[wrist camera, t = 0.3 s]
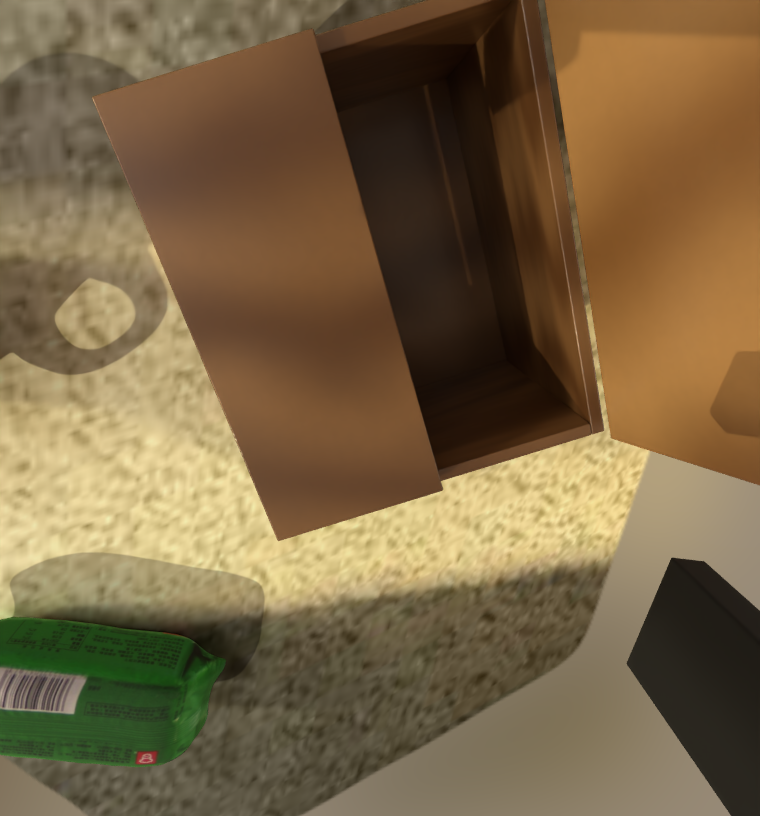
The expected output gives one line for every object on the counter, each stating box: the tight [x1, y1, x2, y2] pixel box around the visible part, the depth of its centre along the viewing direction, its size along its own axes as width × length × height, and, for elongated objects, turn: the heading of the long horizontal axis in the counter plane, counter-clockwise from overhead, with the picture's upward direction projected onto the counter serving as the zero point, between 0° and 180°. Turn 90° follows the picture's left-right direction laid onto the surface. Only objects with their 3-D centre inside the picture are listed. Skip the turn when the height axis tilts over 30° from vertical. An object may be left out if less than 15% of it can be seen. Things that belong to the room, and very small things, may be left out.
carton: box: [92, 0, 604, 541], centre depth 23 cm, size 15×13×11 cm
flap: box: [545, 0, 760, 485], centre depth 14 cm, size 15×6×1 cm
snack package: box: [0, 617, 226, 767], centre depth 32 cm, size 7×16×5 cm, turn 75°
